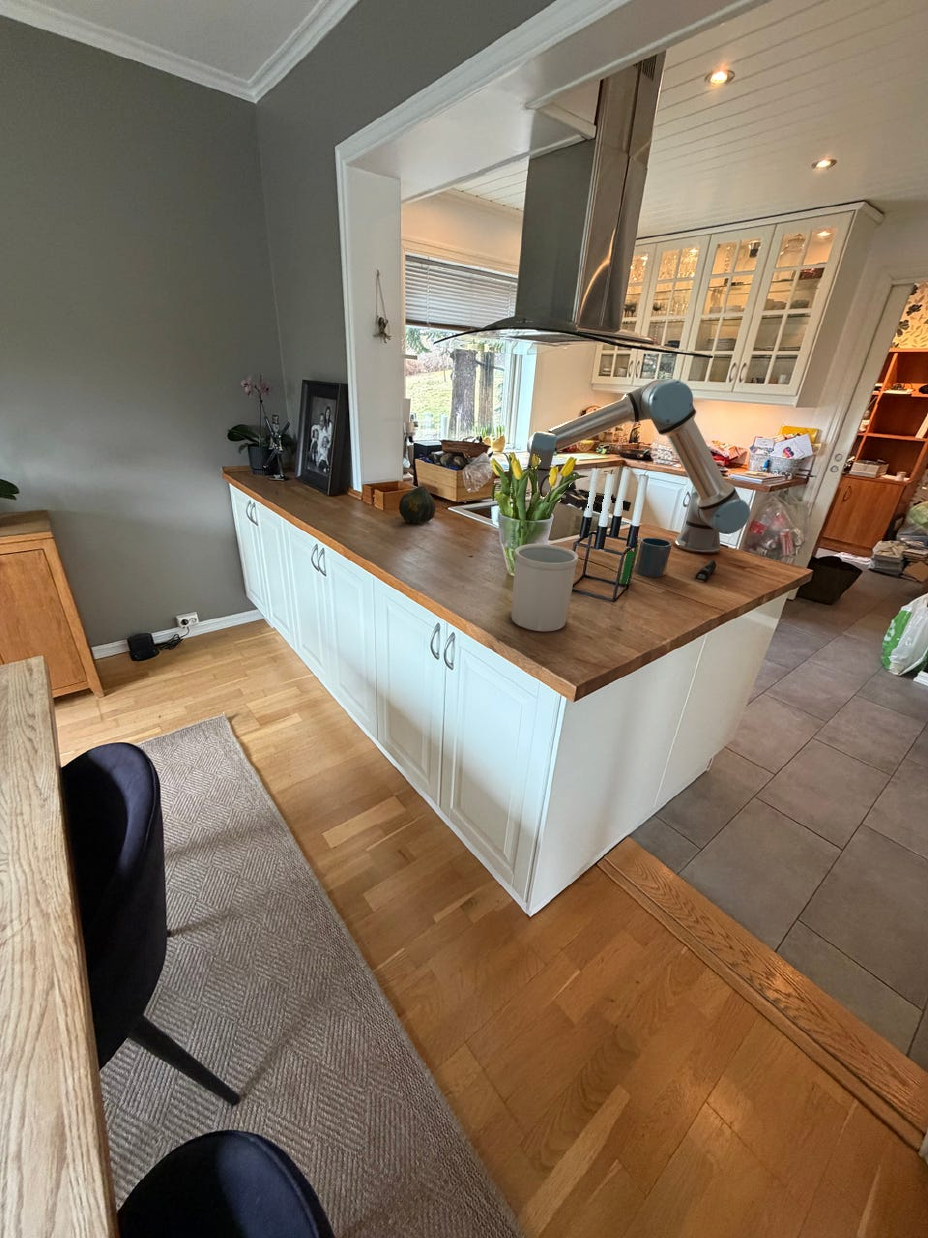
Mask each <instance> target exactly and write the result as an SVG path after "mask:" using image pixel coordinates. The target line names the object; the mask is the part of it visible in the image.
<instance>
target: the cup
mask: <svg viewBox="0 0 928 1238" xmlns="http://www.w3.org/2000/svg"><path fill="white" fill-rule="evenodd" d="M671 550H672V542H671V541H669V540H666V539H663V538H658V537H643V538H640V542H639V547H638V551H637V556H636V561H635V566H634V572H636V573H637V574H639V575H641V576H643V577H650V578H661V577H664V576H665V575H666V571H667V567H668V562H669V558H670V554H671Z"/></svg>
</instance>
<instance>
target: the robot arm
mask: <svg viewBox="0 0 928 1238" xmlns="http://www.w3.org/2000/svg"><path fill="white" fill-rule="evenodd" d="M696 414H697V410H696V407H695V406H694V395H693V392H692V390H691V388H690V386H689V385H687V383H686V382H683V381H682V380H680V379H675V378H667V379H655V380H652V381H649V382H648V383H646V384H644V385H642V386H640V387H638V388H636V389H634V390H633V391H630V392H628V393H625V394H624V395H623V397H622V398H621V399H620V400H617V401H614V402H612V403H610V404H608V405H605V406H602V407H601V408H598V409H596V410H593V411H591V412H588V413H586V414H584V415H582V416H579V417H577V418H574V419H572V420H569V421H567V422H565V423H563V424H562V423H561V424H560V425H558V426H554V427H553V428H551V429H548V430H546V431H535V432H534V433H533V435H531V437H530V438H528V441H527V445H526V448H527V449H526V450H527V452H528V454H529V456H528V463H527V465H526V467H524V468H522V469H523V470H524V471H527V470H529V469H530V468H531V457H532V456H533V454H535V456H536V455H537V457H538V458H540V460H541V463H540V466H539V469H538V477H537V481H538V487H539V490H540V494H541V496H542V497H541V498H543V497H545V496H546V495H547V493H548V492H549V490H550V483H549V477H550V475H551V474H550V471H551V467H552V463H553V458H554V454H555V453H556V452H559V451H560V450H563V449H566V448H569V447H571V446H573V445H576V444H578V443H581V442H584V441H585V440H588V439H591V438H594V437H595V436H597V435H600V434H603V433H605V432H608V431H611V430H613V429H615V428H618V427H621V426H623V425H625V424H627V423H628V424H629V423H630V424H632V425H633V424H636V423H639V422H641V421H646V420H647V421H648V420H651V422H652V424H653V426H654V427H655V429H656V431H657V433H658V434H659V435H660V436H665V437H666V438H667V440H668V442H669V444H670V445H671V448H672V449H673V451H674V453H675V454H676V456H677V458H678V460H679V462H680V464H681V466H682V467H683V470H684V471H685V473H686V475H687V477H688V479H689V481H690V482H691V485H692V486H693V491H692V493H691V497H690V502H689V507H688V511H687V514H686V519H685V523H684V526H683V527H682V529H681V530H680V532H679V533H678V536H677V537H676V539H675V542H674V546H675V547H676V548H678V549H680V550H683V551H684V552H685V551H686V552H688V553H693V554H700V555H701V554H703V555H714V554H717V553H719V552H720V549H721V547H723V548H726V549H728V548H729V545H727V544H724V543H721V537H720V535H721V534H723V535H730V534H734V533H736V532H738V531H740V530H741V529H742V528H743V527H745V526H746V525H747V523H748V521H749V519H750V518H751V517H750V516H751V507H750V506H749V504H748V503H747V502H746V501H745V500H744V499H741V497H740V495H739V493H738V491H737V490H736V489H737V488H735V485H734V484H732V483H730V482H726V480H725V478H724V476H723V474H722V472H721V470H720V468H719V466H718V464H717V462H716V461H715V458H714V456H713V454H712V452H711V451H710V449H709V447H708V445H707V442H706V440H705V438H704V437H703V435H702V433H701V431H700V429H699V426H698V424H697V423H696V420H695V417H696ZM538 455H539V456H538ZM590 491H591V490H588V489H584V488H577V485H576V483H575V482H574V481H573V483H572V484H571V485H570V487H569V488H568V489H567V491H566V492H565V493H564V494H563V495H562V497H561V501H560V502H559V503H558V504H561V505H564V506H567V505H571V506H573V507H575V508H577V509H581V510H580V511H582V512H585V511H586V510H587V504H588V497H589V492H590ZM595 492H596V497H595V501H594V504H593V511H592V512H594V513H598V514H601V511H602V502H603V499H604V495H605V494H606V493H602V492H598V491H595ZM610 495H611V500H612V503H615V501H616V498H617V497H615V496H614V495H615V494H614V493H611V494H610ZM623 500H624V501H623V510H622V511H624V512H629V511H630V510H631V505H632V502H631V501H628V500H625V499H623ZM588 508H589V506H588ZM609 510H610V508H609V509H608V512H609Z"/></svg>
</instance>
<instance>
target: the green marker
mask: <svg viewBox="0 0 928 1238" xmlns="http://www.w3.org/2000/svg"><path fill="white" fill-rule="evenodd" d="M637 537H638V536H637ZM640 543H641V538H640V537H638V543H637V547H636V551H635V560H634V564H633V570H632V575H631V581H630V583H629V584H628V585H631V584H632V583H631V582H632V578H633V573H634V570H635V565H636V560H637V555H638V551H639V546H640ZM626 554H627V555H626ZM626 554H625V558H624V563H623V564H624V565H623V569H622V575H621V579H620V584H622V585H627V584H626V582H627V579H628V576H629V574H630V570H631V563H632V560H633V555H634V552H633V551H632V550H631V551H629V552H628V553H627V552H626Z"/></svg>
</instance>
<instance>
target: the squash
mask: <svg viewBox="0 0 928 1238" xmlns="http://www.w3.org/2000/svg"><path fill="white" fill-rule="evenodd" d="M398 511H399V515H400V516H401V517H402V518H403V520H404V521H405V522H406V523H408V524H412V523H413V524H418V523H419V522H421V523H424V522H429V521H431V520H433V518H434V517H435V514H436V503H435V500H434V498H433V496H432V495H431V493H430V492H429V490H428V489H427V488H426V486H425V485H420V486H417V487H415V488H413V489H411V490H410V491H408V492H406V493H404V494H403V495H402V497H401V498H400V500H399V504H398Z"/></svg>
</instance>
